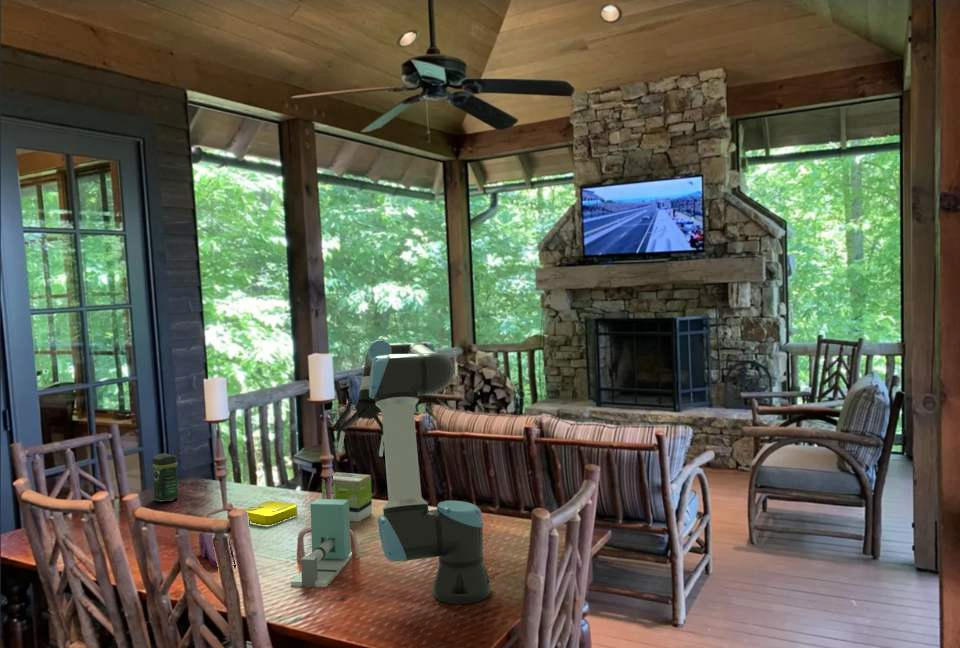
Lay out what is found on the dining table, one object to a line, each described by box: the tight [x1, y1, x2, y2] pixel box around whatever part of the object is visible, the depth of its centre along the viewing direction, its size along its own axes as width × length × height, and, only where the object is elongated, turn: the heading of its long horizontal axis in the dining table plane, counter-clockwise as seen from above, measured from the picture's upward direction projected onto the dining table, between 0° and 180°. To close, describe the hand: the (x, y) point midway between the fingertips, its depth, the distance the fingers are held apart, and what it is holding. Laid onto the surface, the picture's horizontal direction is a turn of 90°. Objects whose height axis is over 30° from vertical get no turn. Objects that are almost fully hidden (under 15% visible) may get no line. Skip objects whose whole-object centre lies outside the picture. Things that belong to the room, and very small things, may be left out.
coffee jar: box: [152, 452, 179, 500], centre depth 272 cm, size 10×8×19 cm
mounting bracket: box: [198, 533, 235, 568], centre depth 207 cm, size 10×8×18 cm
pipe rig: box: [290, 537, 353, 588], centre depth 196 cm, size 24×10×8 cm, turn 172°
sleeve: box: [309, 498, 351, 559], centre depth 201 cm, size 5×10×16 cm, turn 82°
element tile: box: [244, 499, 298, 525], centre depth 245 cm, size 15×15×5 cm
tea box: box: [321, 471, 373, 523], centre depth 244 cm, size 15×10×15 cm
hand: (359, 453), depth 221 cm, fingers open, 13 cm apart
